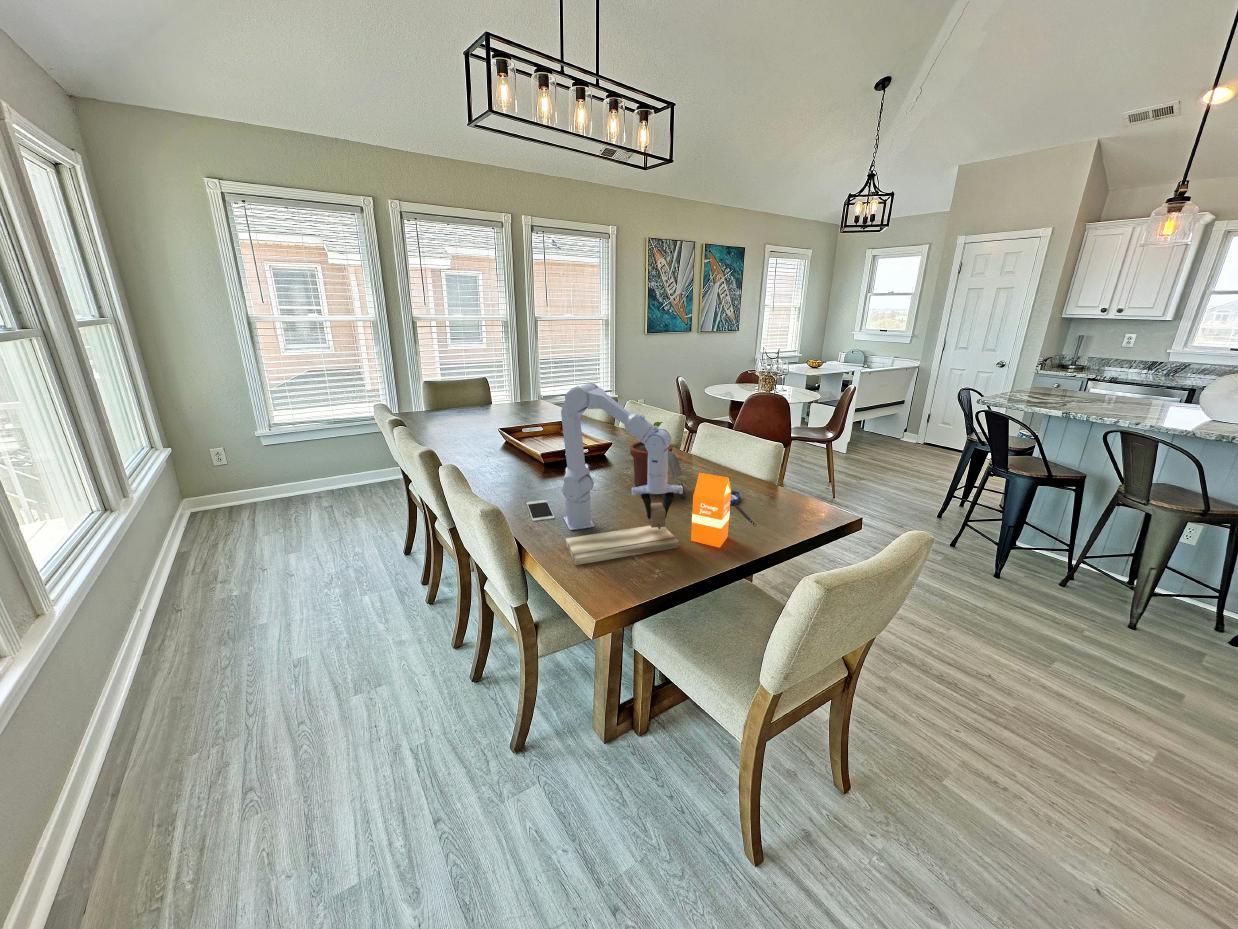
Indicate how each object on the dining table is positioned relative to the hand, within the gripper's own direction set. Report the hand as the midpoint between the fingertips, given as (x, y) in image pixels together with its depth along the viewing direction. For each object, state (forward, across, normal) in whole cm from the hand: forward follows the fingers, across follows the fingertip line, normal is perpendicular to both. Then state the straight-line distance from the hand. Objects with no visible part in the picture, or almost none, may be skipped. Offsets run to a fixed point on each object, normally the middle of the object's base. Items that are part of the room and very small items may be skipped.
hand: (656, 516), depth 139 cm
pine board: (+7, +11, +3) cm, 13 cm away
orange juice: (+7, -16, +2) cm, 17 cm away
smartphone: (+8, +35, -24) cm, 43 cm away
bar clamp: (+8, -31, -15) cm, 35 cm away
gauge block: (+2, 0, 0) cm, 2 cm away
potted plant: (+7, -7, -39) cm, 40 cm away
